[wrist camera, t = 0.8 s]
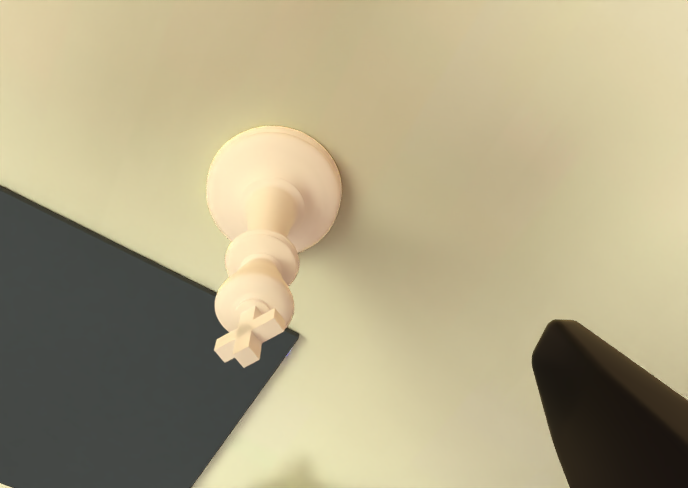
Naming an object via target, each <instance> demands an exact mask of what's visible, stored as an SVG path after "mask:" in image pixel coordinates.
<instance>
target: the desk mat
mask: <svg viewBox="0 0 688 488" xmlns="http://www.w3.org/2000/svg"><path fill="white" fill-rule="evenodd" d="M216 295H217V293H215V292H213V291H211V290H209V289H207V288H205V287H203V286H201V285H199V284H197V283H195V282H193V281H191V280H189V279H187V278H185V277H183V276H181V275H179V274H177V273H175V272H173V271H171V270H169V269H167V268H165V267H163V266H161V265H159V264H157V263H155V262H153V261H151V260H149V259H147V258H145V257H143V256H141V255H139V254H137V253H135V252H132V251H130V250H128V249H126V248H124V247H122V246H120V245H118V244H116V243H114V242H112V241H110V240H108V239H106V238H104V237H102V236H100V235H98V234H96V233H94V232H92V231H90V230H88V229H86V228H84V227H82V226H80V225H78V224H76V223H74V222H72V221H70V220H68V219H66V218H64V217H62V216H60V215H58V214H56V213H54V212H52V211H50V210H48V209H46V208H44V207H42V206H40V205H38V204H36V203H34V202H32V201H30V200H28V199H26V198H24V197H22V196H20V195H18V194H15V193H13V192H11V191H9V190H7V189H5V188H3V187H1V186H0V483H1V484H4V485H7V486H10V487H12V488H191V487H192V486H193V484H194V483H195V481H196V480H197V479H198V477H199V476H200V474H201V473H202V472H203V470H204V469H205V467H206V466H207V465H208V463H209V462H210V461H211V459H212V458H213V456H214V455H215V454H216V452H217V451H218V449H219V448H220V447H221V445H222V444H223V443H224V441H225V440H226V438H227V437H228V436H229V434H230V433H231V431H232V430H233V429H234V427H235V426H236V424H237V423H238V422H239V420H240V419H241V418H242V416H243V415H244V413H245V412H246V411H247V409H248V408H249V406H250V405H251V404H252V402H253V401H254V399H255V398H256V397H257V395H258V394H259V393H260V391H261V390H262V388H263V387H264V386H265V384H266V383H267V381H268V380H269V379H270V377H271V376H272V374H273V373H274V372H275V370H276V369H277V368H278V366H279V365H280V363H281V362H282V361H283V359H284V358H285V356H286V355H287V354H288V352H289V351H290V350H291V348H292V347H293V345H294V344H295V343H296V341H297V340H298V338H299V334H298V333H296V332H294V331H292V330H290V329H288V328H286V329H285V330H284V332H282V333H280V334H278V335H277V336H275V337H273V338H271V339H269V340H267V341H265V342H263V343H262V346H261V353H260V360H258V361H256V362H254V363H252V364H250V365H248V366H247V367H245V368H243V367H242V365H241V364H240V363H239V362H238V361H237V360H236V358H233V359H231V360H229V361H227V362H224V361H223V360H222V359H221V358H220V357H219V355H218V354H217V353H216V352H215V351H214V348H215V344H216V340H217V339H218V338H220V337H222V336H224V335H226V334H227V333H229V332H228V331H227V330H226V329H225V328H224V327H223V326H222V325H221V323H220V322H219V320H218V318H217V316H216V312H215V298H216Z"/></svg>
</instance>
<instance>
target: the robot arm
mask: <svg viewBox="0 0 688 488" xmlns="http://www.w3.org/2000/svg"><path fill="white" fill-rule="evenodd" d="M532 368H533V371H534V375H535V379H536V382H537V386H538V390H539V393H540V397H541V401H542V404H543V408H544V412H545V415H546V419H547V423H548V426H549V430H550V434H551V437H552V440H553V443H554V447H555V449H556V452H557V455H558V458H559V461H560V463H561V466H562V468H563V471H564V474H565V476H566V479H567V481H568V484H569V487H570V488H688V400H686V399H685V398H684V397H682V396H681V395H679V394H678V393H677V392H675V391H674V390H672V389H671V388H670V387H668V386H667V385H665V384H664V383H663V382H661V381H660V380H658V379H657V378H656V377H654V376H653V375H651V374H650V373H649V372H647V371H646V370H644V369H643V368H642V367H640V366H639V365H637V364H636V363H635V362H633V361H632V360H630V359H629V358H628V357H626V356H625V355H623V354H622V353H620V352H619V351H618V350H616V349H615V348H613V347H612V346H611V345H609V344H608V343H606V342H605V341H604V340H602V339H601V338H599V337H598V336H597V335H595V334H594V333H592V332H591V331H590V330H588V329H587V328H585V327H584V326H583V325H581V324H580V323H578V322H577V321H574V320H552V321H551V322H550V323H548V325H547V327H546V328H545V330H544V332H543V334H542V336H541V338H540V340H539V342H538V344H537V345H536V347H535V349H534V351H533V354H532Z"/></svg>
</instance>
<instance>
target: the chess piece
mask: <svg viewBox="0 0 688 488" xmlns="http://www.w3.org/2000/svg"><path fill="white" fill-rule="evenodd" d="M206 196H207V203H208V208H209V211H210V214H211V216H212V218H213V220H214V222H215V224H216V225H217V227H218V228H219V230H220V231H221V232H222V233H223V234H224V235H225V236H226V237H227V238H228V239H229V240H230V241H232V242H231V243H230V245H229V246H228V248H227V251H226V254H225V267H226V270H227V273H228V276H229V278H228V279H227V280H226V281H225V282H224V283H223V284H222V285H221V287H220V288H219V290H218V292H217V295H216V298H215V312H216V316H217V318H218V320H219V322H220V323H221V325H222V326H223V327H224V328H225V329H226V330H227V331H228V332H229V333H227V334H226V335H224V336H222V337H220V338H218V339H217V340H216V344H215V348H214V351H215V352H216V353H217V354H218V355H219V357H220V358H221V359H222V360H223V361H224V362H227V361H229V360H231V359H233V358H236V360H237V361H238V362H239V363H240V364H241V365H242V367H243V368H245V367H247V366H248V365H250V364H252V363H254V362H256V361H258V360H260V353H261V346H262V343H263V342H265V341H267V340H269V339H271V338H273V337H275V336H277V335H278V334H280V333H282V332H284V330H285V329H286V328H287V326H288V325H289V323H290V322H291V320H292V317H293V314H294V300H293V296H292V294H291V291H290V289H289V286H290V284H291V283H292V282H293V281H294V279H295V278H296V276H297V273H298V270H299V256H298V253H299V252H302V251H304V250H306V249H308V248H310V247H312V246H313V245H315V244H316V243H317V242H319V241H320V240H321V239H322V238H323V237H324V236H325V235H326V234H327V233H328V231H329V230H330V228H331V227H332V225H333V223H334V221H335V219H336V217H337V214H338V211H339V207H340V204H341V198H342V184H341V178H340V174H339V171H338V168H337V166H336V164H335V162H334V160H333V158H332V157H331V155H330V154H329V153H328V152H327V150H326V149H325V148H324V147H323V146H322V145H321V144H320V143H319V142H317V141H316V140H315V139H313V138H312V137H310V136H308V135H307V134H305V133H303V132H300V131H298V130H295V129H292V128H288V127H283V126H261V127H256V128H252V129H249V130H246V131H244V132H242V133H240V134H238V135H236V136H234V137H233V138H232V139H230V140H229V141H228V142H227V143H225V144H224V145H223V146H222V148H221V149H220V150H219V151H218V153H217V154H216V156H215V157H214V159H213V161H212V163H211V166H210V168H209V172H208V176H207V189H206Z"/></svg>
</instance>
